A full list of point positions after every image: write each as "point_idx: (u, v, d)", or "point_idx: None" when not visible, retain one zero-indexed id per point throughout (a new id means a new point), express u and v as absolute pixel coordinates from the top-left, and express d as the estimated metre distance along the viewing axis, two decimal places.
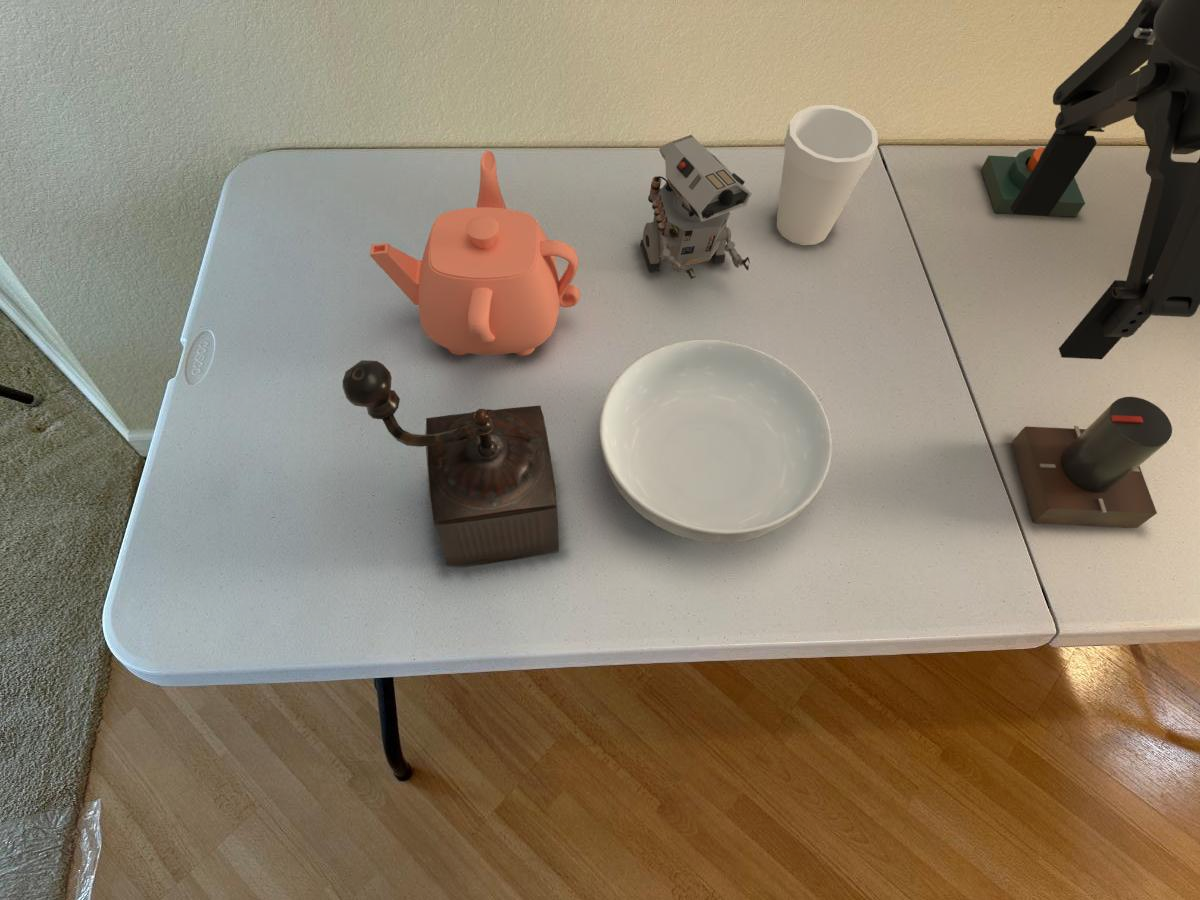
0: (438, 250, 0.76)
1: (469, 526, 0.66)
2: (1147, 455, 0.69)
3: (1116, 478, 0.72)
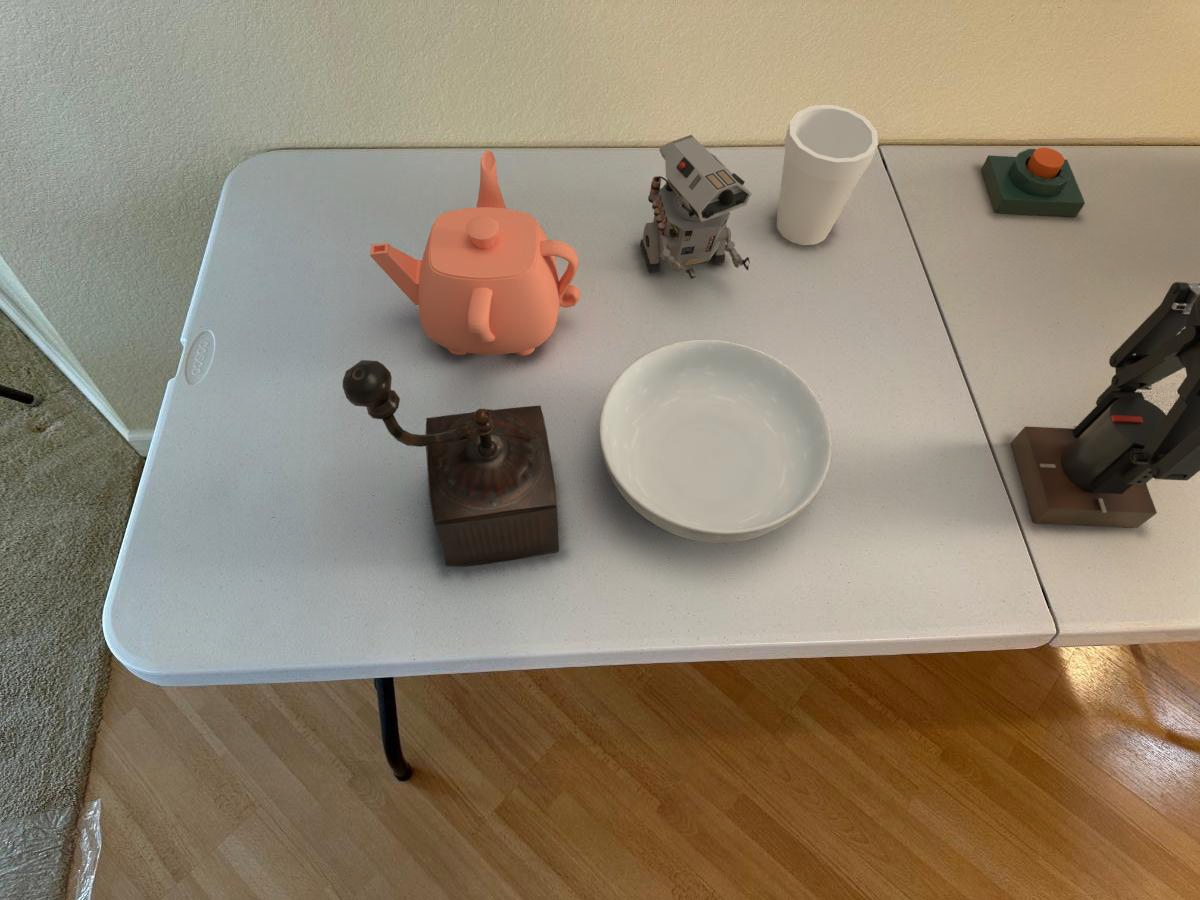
0: (438, 250, 0.76)
1: (469, 526, 0.66)
2: None
3: None
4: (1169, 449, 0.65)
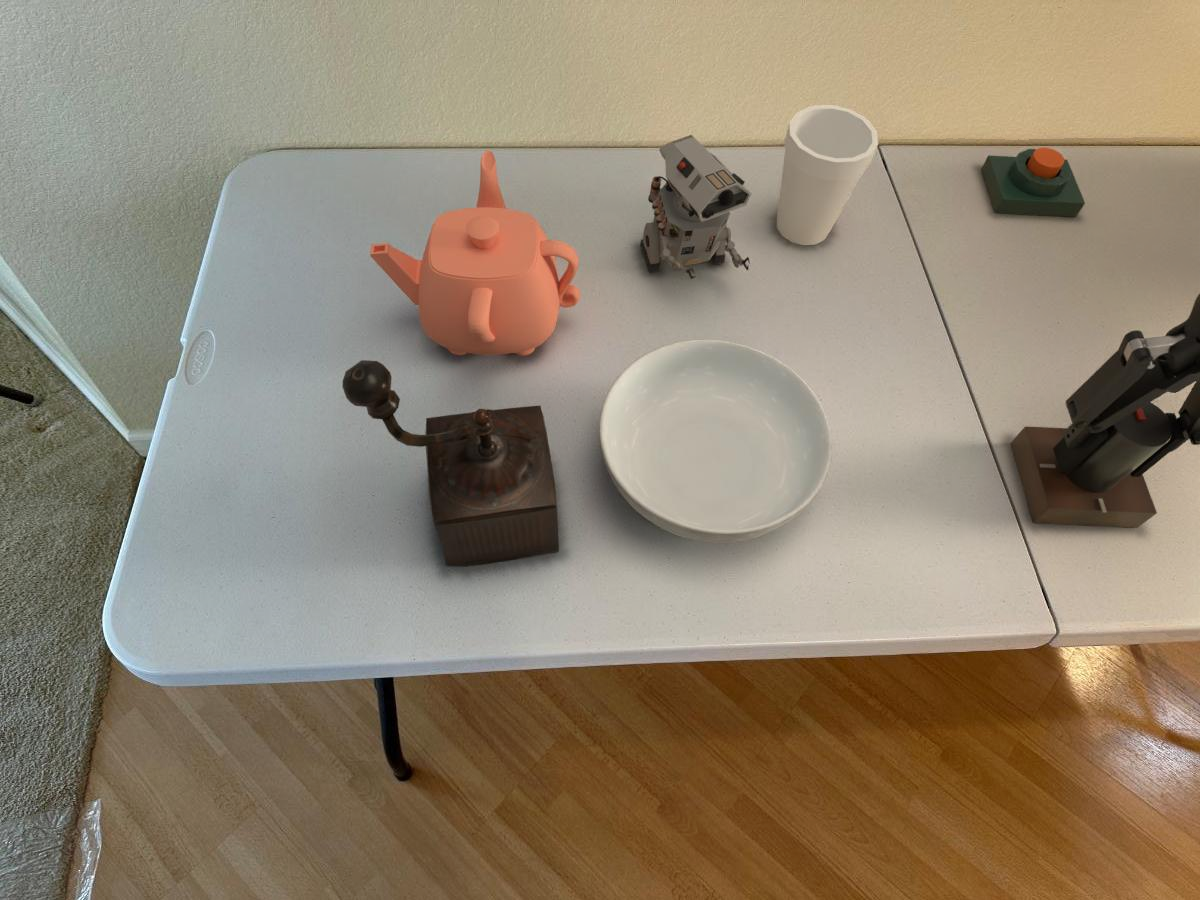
0: (438, 250, 0.76)
1: (469, 526, 0.66)
2: None
3: None
4: None
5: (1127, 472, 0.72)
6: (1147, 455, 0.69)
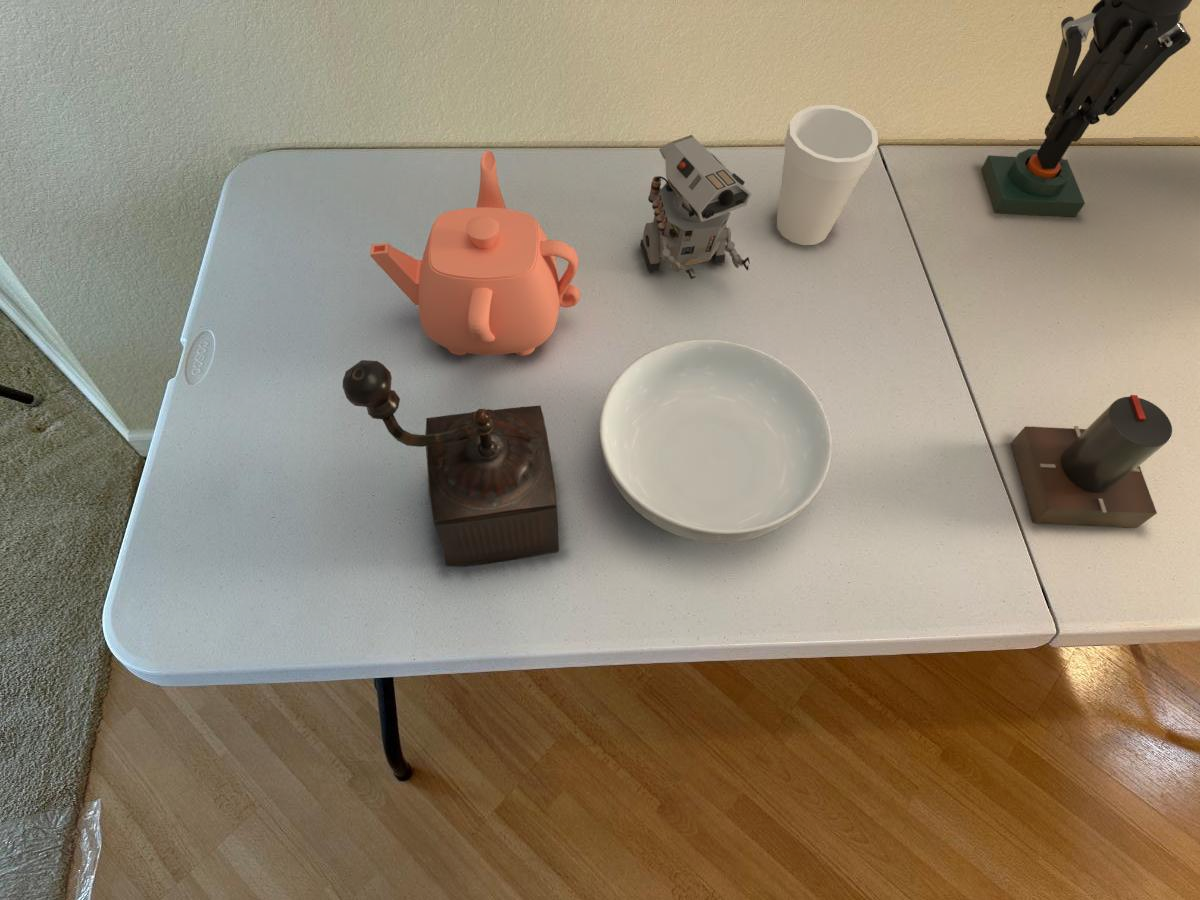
0: (438, 250, 0.76)
1: (469, 526, 0.66)
2: (1104, 435, 0.70)
3: (1078, 453, 0.74)
4: (1068, 94, 0.89)
5: (1127, 472, 0.72)
6: (1147, 455, 0.69)
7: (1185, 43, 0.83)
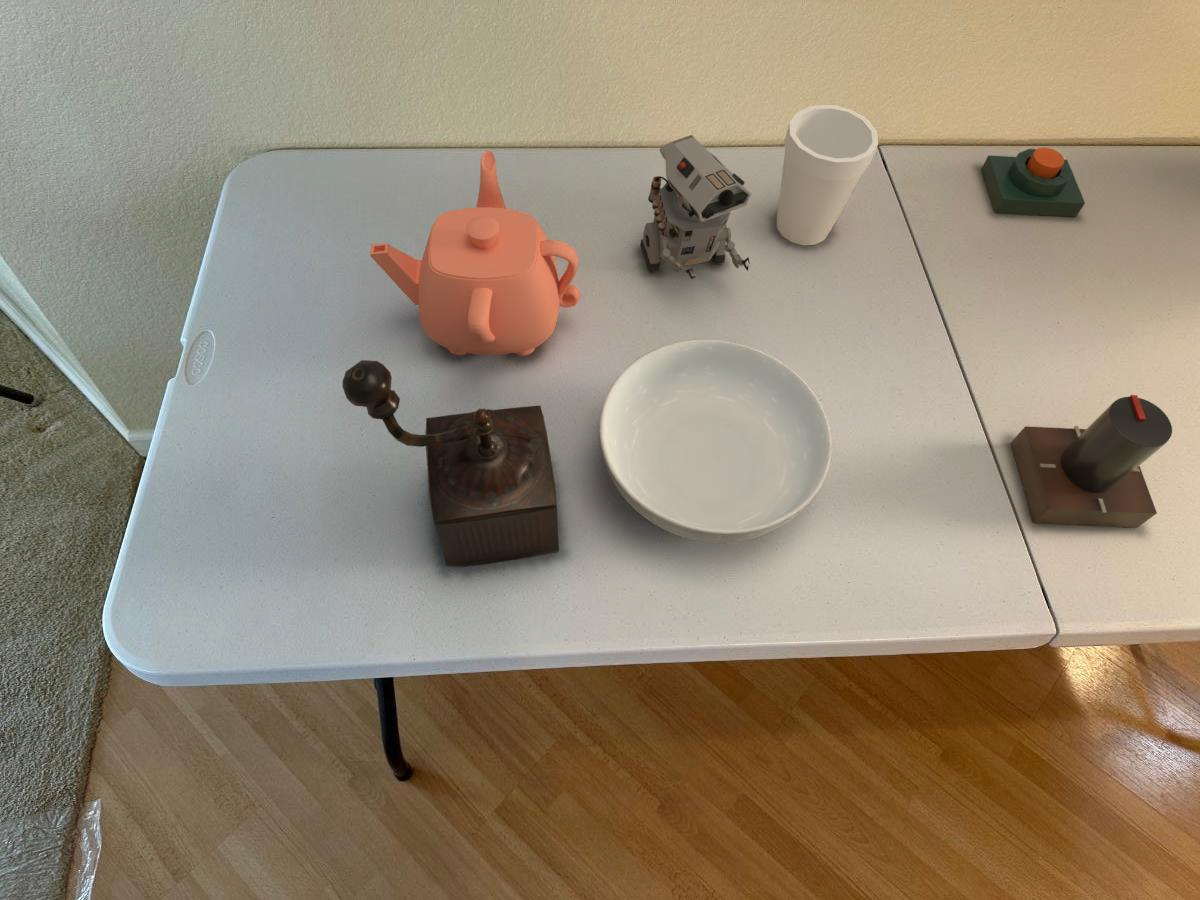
0: (438, 250, 0.76)
1: (469, 526, 0.66)
2: (1104, 435, 0.70)
3: (1078, 453, 0.74)
4: None
5: (1127, 472, 0.72)
6: (1147, 455, 0.69)
7: None
